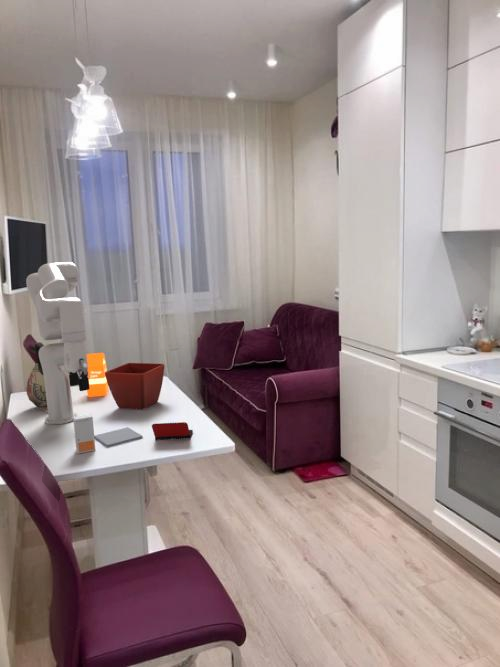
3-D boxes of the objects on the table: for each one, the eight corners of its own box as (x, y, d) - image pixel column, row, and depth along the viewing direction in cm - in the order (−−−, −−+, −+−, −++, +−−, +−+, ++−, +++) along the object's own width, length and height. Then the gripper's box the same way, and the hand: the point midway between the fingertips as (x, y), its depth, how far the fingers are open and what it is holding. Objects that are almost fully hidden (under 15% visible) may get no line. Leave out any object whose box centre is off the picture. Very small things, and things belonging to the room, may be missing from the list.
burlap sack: (24, 407, 234) (16, 342, 230) (59, 400, 244) (52, 337, 239) (35, 415, 221) (26, 346, 216) (71, 407, 230) (64, 340, 226)
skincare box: (77, 454, 173) (73, 419, 171) (76, 450, 177) (72, 416, 175) (96, 450, 176) (92, 416, 174) (94, 446, 179) (91, 413, 178)
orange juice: (90, 392, 254) (86, 352, 251) (109, 391, 255) (105, 351, 252) (87, 397, 246) (83, 355, 243) (106, 395, 247) (102, 354, 244)
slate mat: (94, 437, 188) (94, 435, 188) (128, 429, 196) (127, 427, 196) (107, 447, 178) (107, 445, 178) (142, 437, 186) (142, 435, 185)
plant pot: (145, 413, 215) (142, 373, 213) (107, 410, 222) (103, 372, 219) (168, 400, 233) (165, 363, 231) (131, 398, 240) (128, 362, 237)
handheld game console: (193, 432, 189) (192, 412, 188) (188, 443, 179) (187, 422, 178) (159, 433, 190) (157, 414, 189) (152, 444, 179) (150, 423, 178)
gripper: (54, 336, 175) (60, 385, 178) (70, 341, 161) (76, 394, 164) (77, 333, 180) (82, 381, 182) (94, 337, 166) (99, 390, 168)
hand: (79, 387), depth 173 cm, fingers open, 9 cm apart
